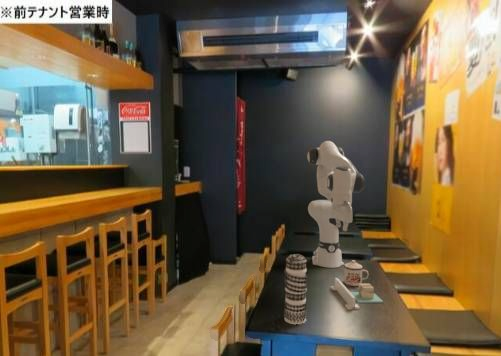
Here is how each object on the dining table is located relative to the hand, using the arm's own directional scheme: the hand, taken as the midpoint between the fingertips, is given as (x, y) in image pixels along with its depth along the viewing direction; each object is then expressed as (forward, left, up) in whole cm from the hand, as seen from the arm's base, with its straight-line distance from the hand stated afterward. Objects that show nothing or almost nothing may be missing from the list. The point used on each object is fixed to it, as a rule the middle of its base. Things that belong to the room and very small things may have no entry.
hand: (341, 228), depth 162 cm
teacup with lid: (-6, +10, -29) cm, 32 cm away
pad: (+12, +8, -29) cm, 32 cm away
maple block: (+12, +8, -28) cm, 32 cm away
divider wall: (+12, -2, -29) cm, 32 cm away
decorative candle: (+32, -28, -29) cm, 52 cm away
